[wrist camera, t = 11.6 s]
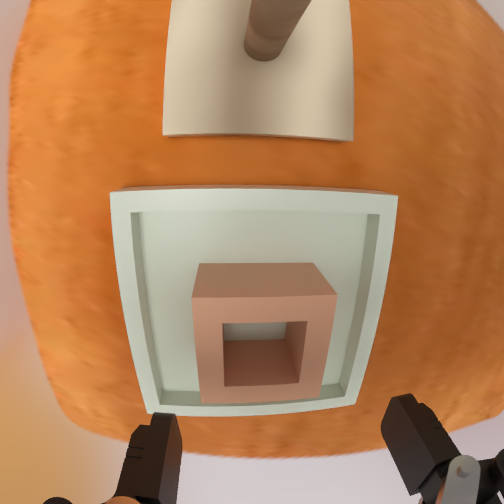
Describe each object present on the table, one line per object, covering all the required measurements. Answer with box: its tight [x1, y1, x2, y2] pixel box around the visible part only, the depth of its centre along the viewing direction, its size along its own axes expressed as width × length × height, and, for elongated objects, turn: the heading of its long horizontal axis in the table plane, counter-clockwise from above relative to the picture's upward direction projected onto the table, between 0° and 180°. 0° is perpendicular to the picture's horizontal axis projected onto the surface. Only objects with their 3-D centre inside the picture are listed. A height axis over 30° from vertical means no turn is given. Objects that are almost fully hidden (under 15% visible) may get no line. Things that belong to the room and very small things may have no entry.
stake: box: [163, 0, 354, 142], centre depth 9 cm, size 9×9×8 cm
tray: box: [110, 185, 398, 416], centre depth 16 cm, size 14×14×2 cm
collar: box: [191, 263, 338, 403], centre depth 15 cm, size 6×7×4 cm
